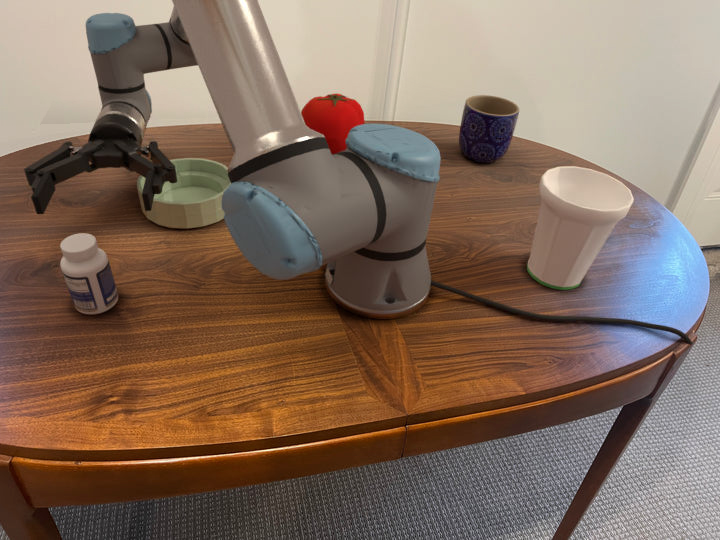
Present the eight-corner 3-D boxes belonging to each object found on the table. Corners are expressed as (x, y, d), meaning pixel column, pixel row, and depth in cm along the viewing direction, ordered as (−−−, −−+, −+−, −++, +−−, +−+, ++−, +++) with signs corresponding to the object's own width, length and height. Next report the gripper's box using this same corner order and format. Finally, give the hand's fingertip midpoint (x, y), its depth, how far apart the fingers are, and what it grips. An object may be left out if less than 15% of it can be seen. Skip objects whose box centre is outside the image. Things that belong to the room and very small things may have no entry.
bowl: (254, 203, 93) (253, 177, 90) (186, 242, 82) (182, 215, 79) (193, 174, 99) (190, 149, 96) (122, 207, 89) (116, 181, 85)
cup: (546, 306, 77) (581, 217, 68) (498, 256, 86) (523, 171, 76) (612, 290, 81) (654, 203, 72) (560, 243, 90) (591, 161, 81)
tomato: (368, 162, 108) (374, 107, 101) (302, 165, 105) (303, 108, 98) (355, 136, 117) (359, 84, 110) (294, 138, 114) (294, 84, 107)
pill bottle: (110, 283, 74) (93, 224, 68) (125, 305, 71) (109, 245, 65) (68, 298, 71) (47, 238, 65) (82, 321, 68) (61, 261, 62)
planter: (459, 140, 119) (469, 91, 112) (508, 150, 117) (522, 100, 110) (450, 161, 111) (461, 109, 104) (503, 172, 109) (517, 120, 102)
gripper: (199, 155, 92) (192, 223, 76) (41, 157, 88) (-1, 230, 72) (194, 113, 88) (186, 177, 72) (27, 113, 83) (-22, 181, 67)
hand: (92, 204), depth 72 cm, fingers open, 13 cm apart
